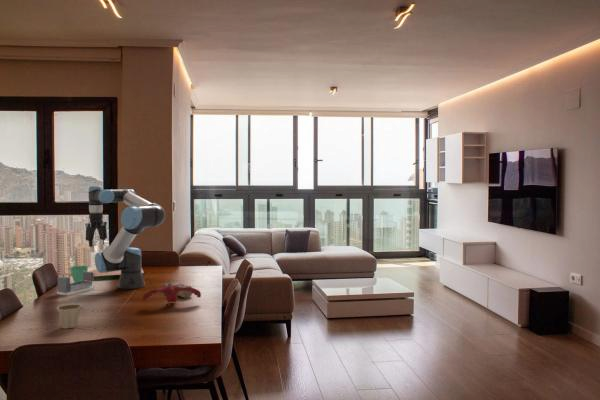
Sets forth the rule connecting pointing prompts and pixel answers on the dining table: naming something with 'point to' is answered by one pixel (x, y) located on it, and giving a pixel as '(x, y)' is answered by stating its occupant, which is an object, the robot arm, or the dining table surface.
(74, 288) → the gauge housing
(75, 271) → the mug
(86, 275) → the purple-grey block
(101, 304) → the dining table surface
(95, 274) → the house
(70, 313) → the flower pot
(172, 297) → the decorative bird sculpture
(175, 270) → the dining table surface
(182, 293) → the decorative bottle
